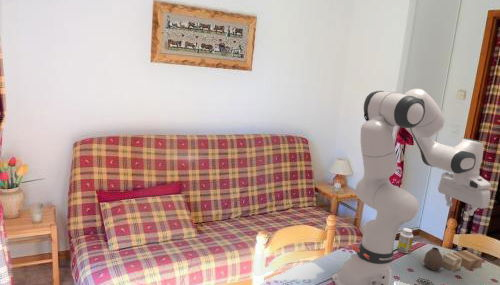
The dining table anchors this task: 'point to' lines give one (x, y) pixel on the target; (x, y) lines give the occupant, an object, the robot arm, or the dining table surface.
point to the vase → (433, 259)
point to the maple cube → (451, 261)
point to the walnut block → (469, 259)
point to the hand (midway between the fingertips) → (459, 210)
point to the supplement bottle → (405, 240)
